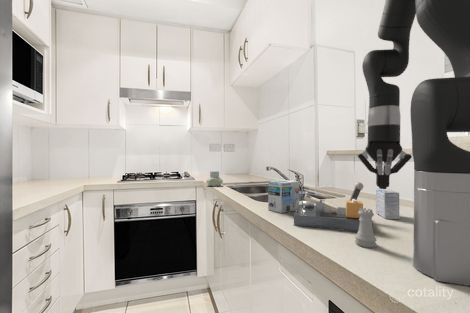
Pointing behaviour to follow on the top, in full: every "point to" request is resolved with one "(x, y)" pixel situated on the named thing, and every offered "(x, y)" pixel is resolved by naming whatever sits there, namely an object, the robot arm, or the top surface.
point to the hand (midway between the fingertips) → (382, 188)
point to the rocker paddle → (326, 204)
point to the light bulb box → (283, 195)
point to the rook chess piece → (365, 229)
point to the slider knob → (353, 208)
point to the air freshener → (214, 179)
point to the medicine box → (387, 204)
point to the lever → (356, 190)
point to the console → (324, 217)
